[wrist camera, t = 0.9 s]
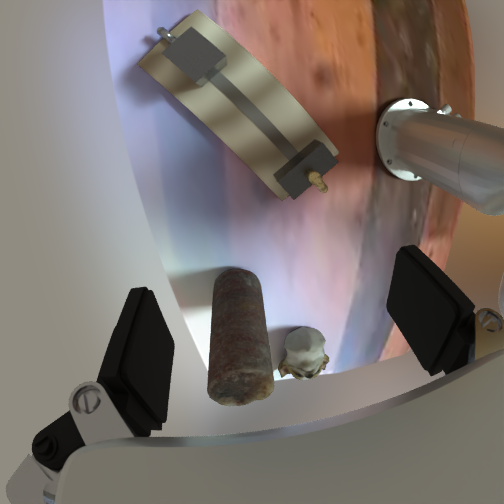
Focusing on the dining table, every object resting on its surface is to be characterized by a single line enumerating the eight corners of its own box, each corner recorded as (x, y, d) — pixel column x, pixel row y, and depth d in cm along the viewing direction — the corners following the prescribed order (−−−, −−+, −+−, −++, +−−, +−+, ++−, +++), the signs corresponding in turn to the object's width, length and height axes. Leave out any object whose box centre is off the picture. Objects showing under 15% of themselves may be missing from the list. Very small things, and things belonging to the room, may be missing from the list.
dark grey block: (147, 40, 23) (131, 29, 18) (171, 18, 22) (159, 3, 17) (202, 87, 27) (195, 82, 22) (227, 64, 26) (226, 55, 21)
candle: (208, 267, 42) (199, 379, 24) (257, 259, 41) (275, 370, 24) (219, 305, 45) (217, 412, 28) (262, 298, 45) (280, 405, 28)
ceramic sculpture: (343, 350, 41) (333, 391, 49) (329, 313, 48) (324, 358, 56) (278, 362, 41) (282, 400, 49) (272, 323, 48) (276, 366, 57)
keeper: (272, 174, 34) (280, 187, 29) (314, 139, 32) (329, 145, 27) (293, 196, 35) (303, 213, 31) (333, 163, 33) (350, 173, 28)
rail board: (140, 65, 26) (136, 64, 25) (198, 12, 23) (197, 8, 22) (280, 197, 37) (282, 201, 35) (335, 150, 34) (339, 152, 33)
